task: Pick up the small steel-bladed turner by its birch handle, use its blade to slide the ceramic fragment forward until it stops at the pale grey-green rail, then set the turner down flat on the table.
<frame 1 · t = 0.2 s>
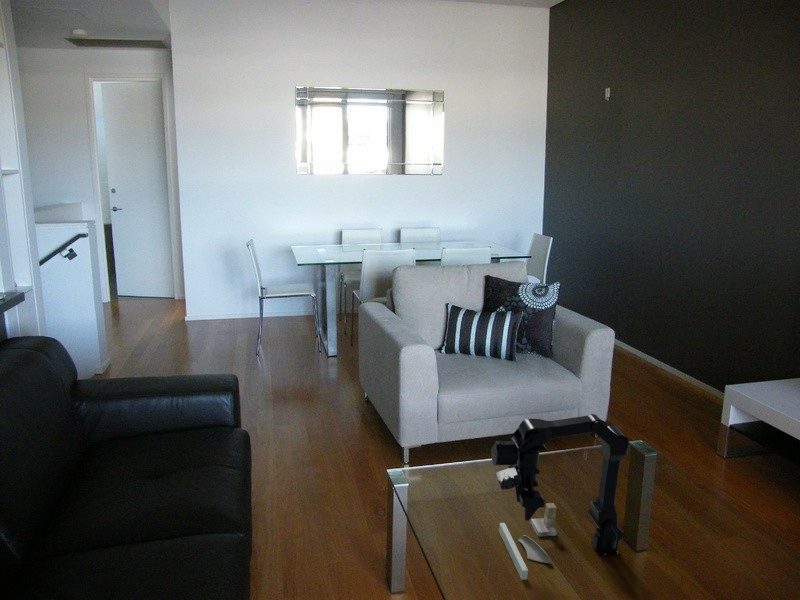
hand: (522, 510, 191), 14 cm above the table, tool pointing down, fingers open, 9 cm apart
stop rail: (512, 554, 194), on the table
ceramic fragment: (534, 554, 196), on the table
turner: (548, 529, 207), on the table
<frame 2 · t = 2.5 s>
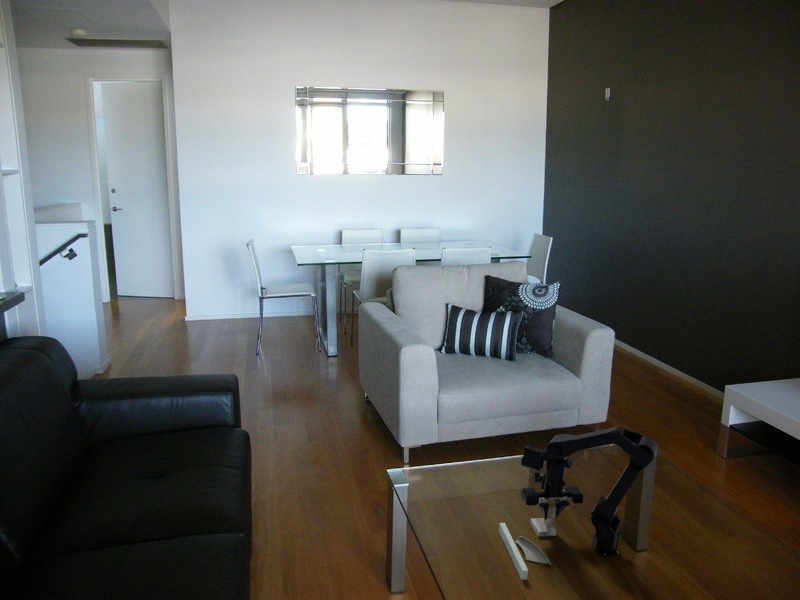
hand: (549, 519, 206), 4 cm above the table, tool pointing down, fingers closed on turner, 2 cm apart
turner: (547, 528, 207), on the table, touching gripper
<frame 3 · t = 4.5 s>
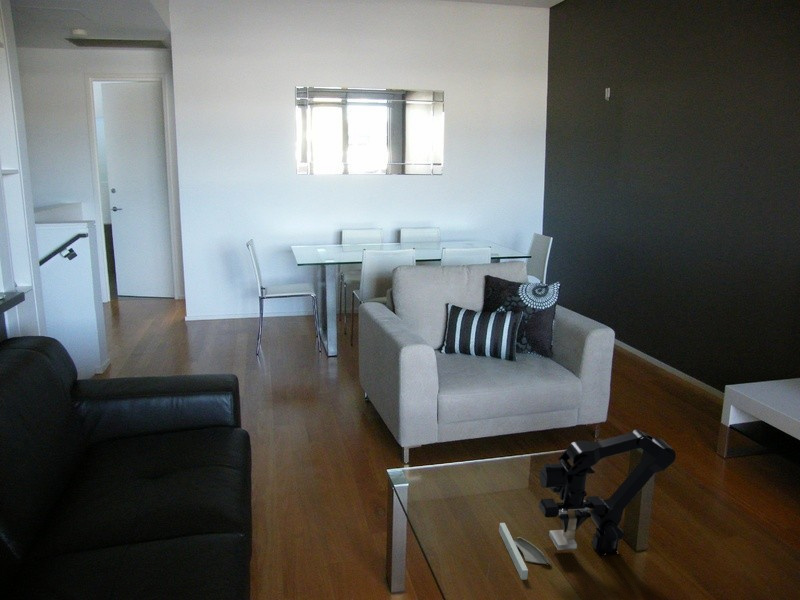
hand: (569, 531, 195), 7 cm above the table, tool pointing down, fingers closed on turner, 2 cm apart
turner: (567, 541, 196), point 3 cm above the table, touching gripper
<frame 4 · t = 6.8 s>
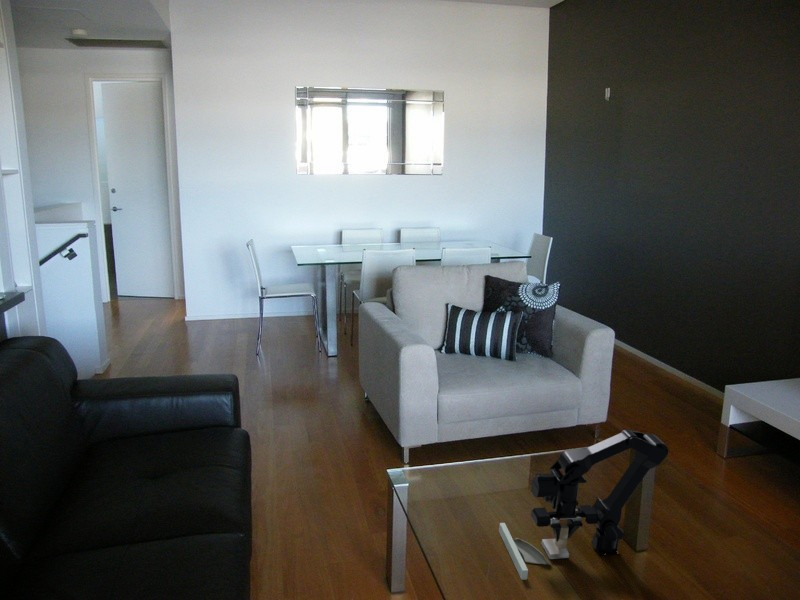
hand: (561, 540, 196), 4 cm above the table, tool pointing down, fingers closed on turner, 2 cm apart
turner: (559, 550, 197), on the table, touching gripper
when the fingers open (4 cm above the table, at t = 9.4 s): turner drops 1 cm, on the table.
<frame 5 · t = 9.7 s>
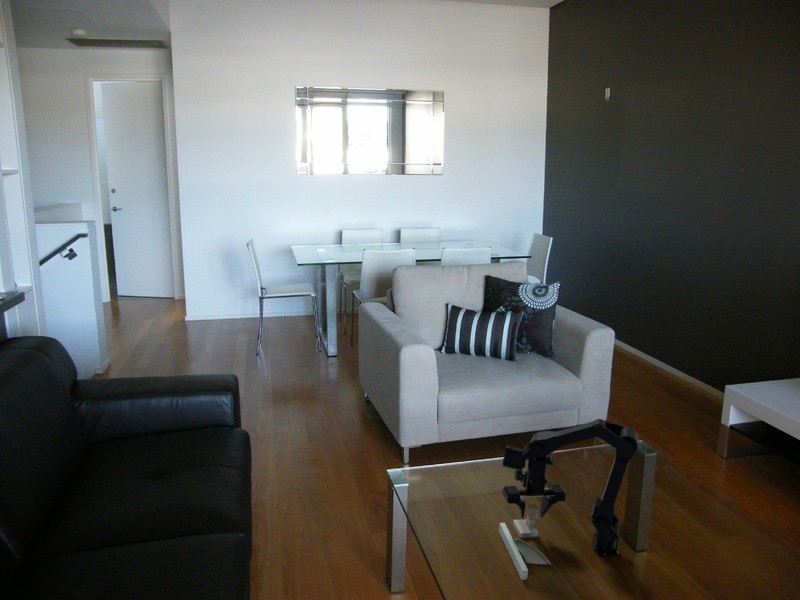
hand: (531, 517, 205), 4 cm above the table, tool pointing down, fingers open, 6 cm apart
turner: (530, 530, 206), on the table
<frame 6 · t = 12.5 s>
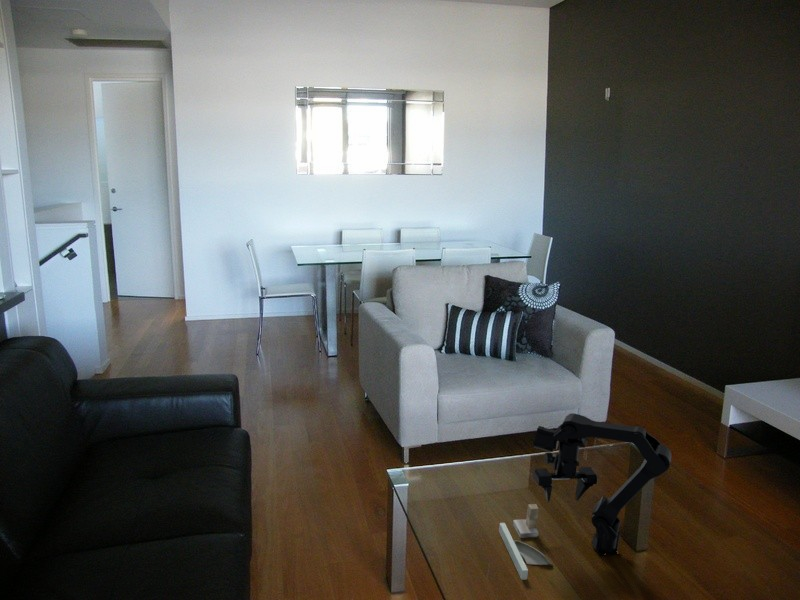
hand: (562, 500, 201), 12 cm above the table, tool pointing down, fingers open, 9 cm apart
at the end: ceramic fragment 1.9 cm from the target spot, on the table; turner touching table; turner tilted 0° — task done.
